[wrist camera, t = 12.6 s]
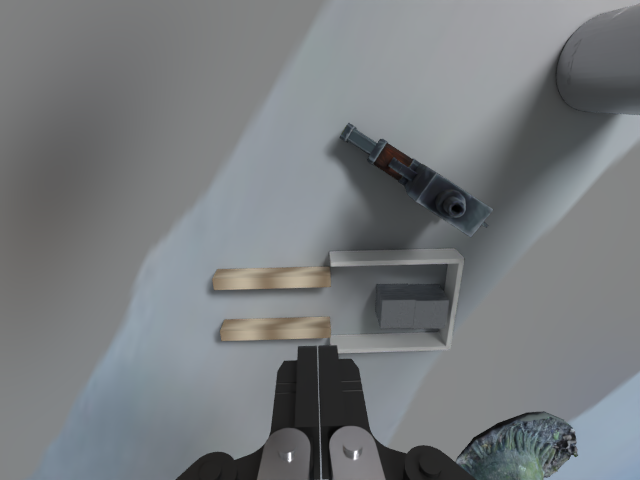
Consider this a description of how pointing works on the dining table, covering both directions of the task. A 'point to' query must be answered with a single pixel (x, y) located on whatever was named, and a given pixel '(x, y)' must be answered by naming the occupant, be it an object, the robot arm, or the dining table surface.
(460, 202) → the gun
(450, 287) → the tray
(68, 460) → the dining table surface
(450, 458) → the robot arm
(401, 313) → the dark gray rectangular block
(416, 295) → the dark gray cube
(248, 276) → the slotted rail
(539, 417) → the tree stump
